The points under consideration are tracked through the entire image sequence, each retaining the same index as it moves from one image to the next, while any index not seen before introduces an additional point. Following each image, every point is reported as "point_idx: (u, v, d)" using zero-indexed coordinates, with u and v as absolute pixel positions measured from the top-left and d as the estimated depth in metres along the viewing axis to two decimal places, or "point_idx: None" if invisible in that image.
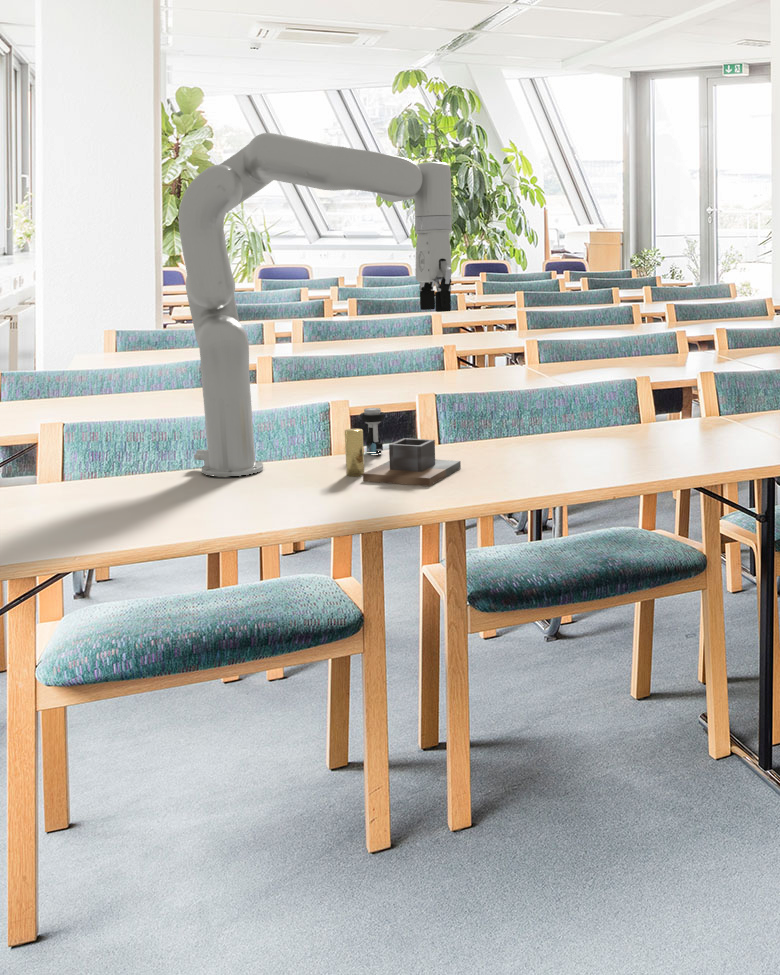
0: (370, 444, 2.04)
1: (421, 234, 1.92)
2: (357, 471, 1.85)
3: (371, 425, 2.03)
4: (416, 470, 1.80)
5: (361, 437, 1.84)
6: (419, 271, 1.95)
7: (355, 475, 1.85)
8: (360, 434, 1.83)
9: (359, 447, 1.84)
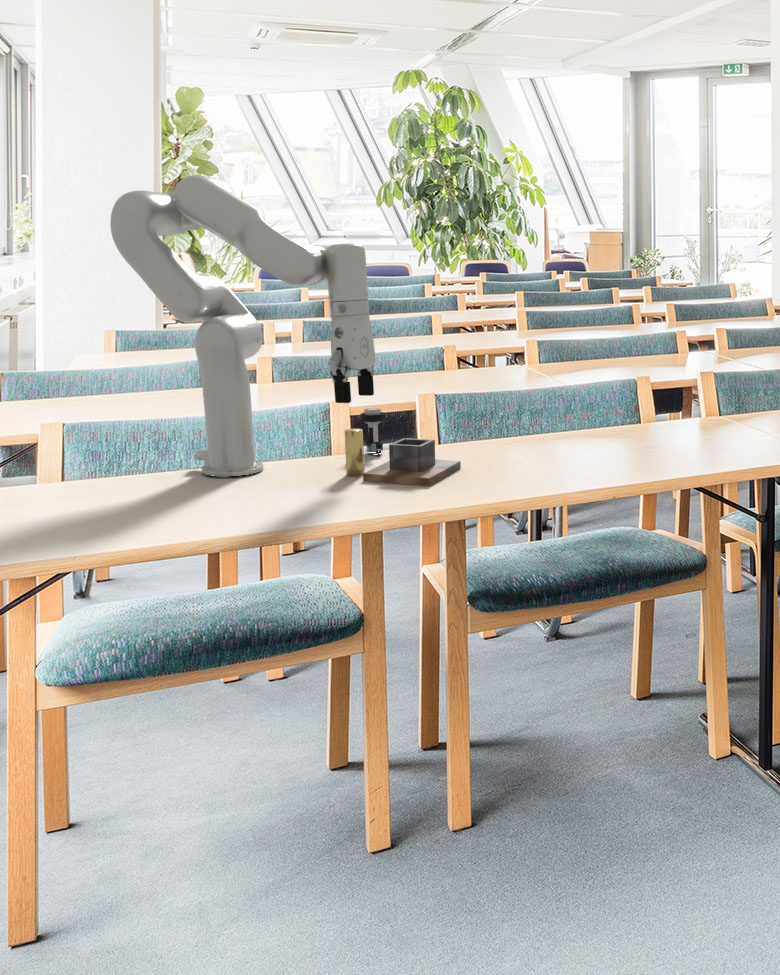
0: (370, 444, 2.04)
1: (362, 318, 1.78)
2: (357, 471, 1.85)
3: (371, 425, 2.03)
4: (416, 470, 1.80)
5: (361, 437, 1.84)
6: (362, 358, 1.78)
7: (355, 475, 1.85)
8: (360, 434, 1.83)
9: (359, 447, 1.84)
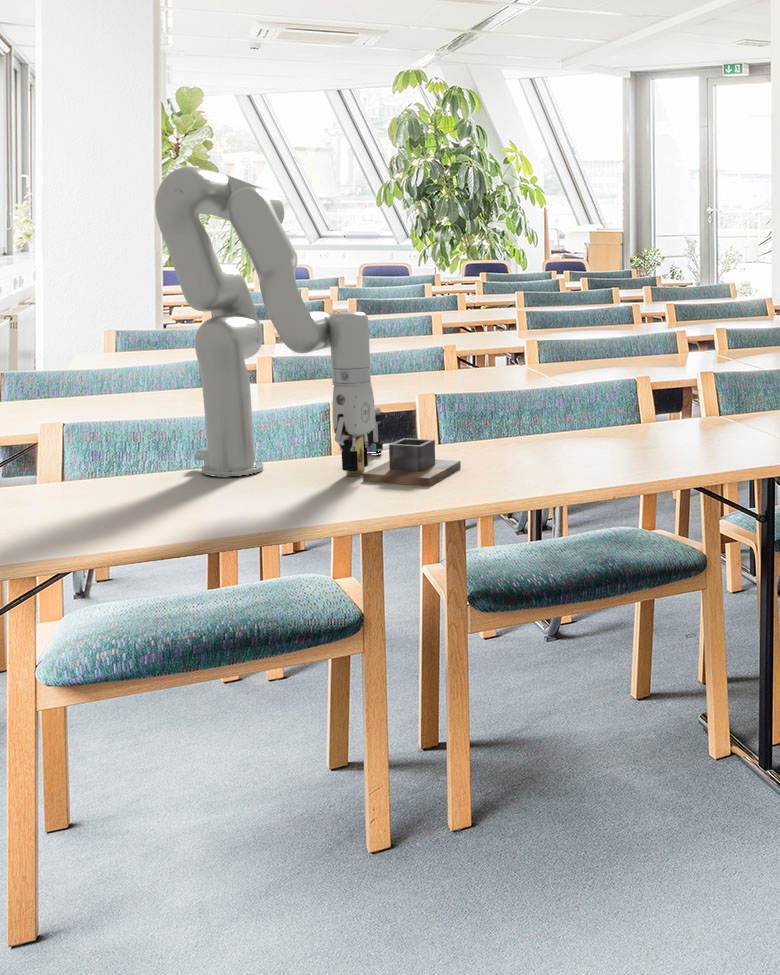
0: (370, 444, 2.04)
1: (363, 385, 1.81)
2: (357, 471, 1.85)
3: None
4: (416, 470, 1.80)
5: (361, 437, 1.84)
6: (362, 423, 1.82)
7: (355, 475, 1.85)
8: None
9: (360, 447, 1.84)
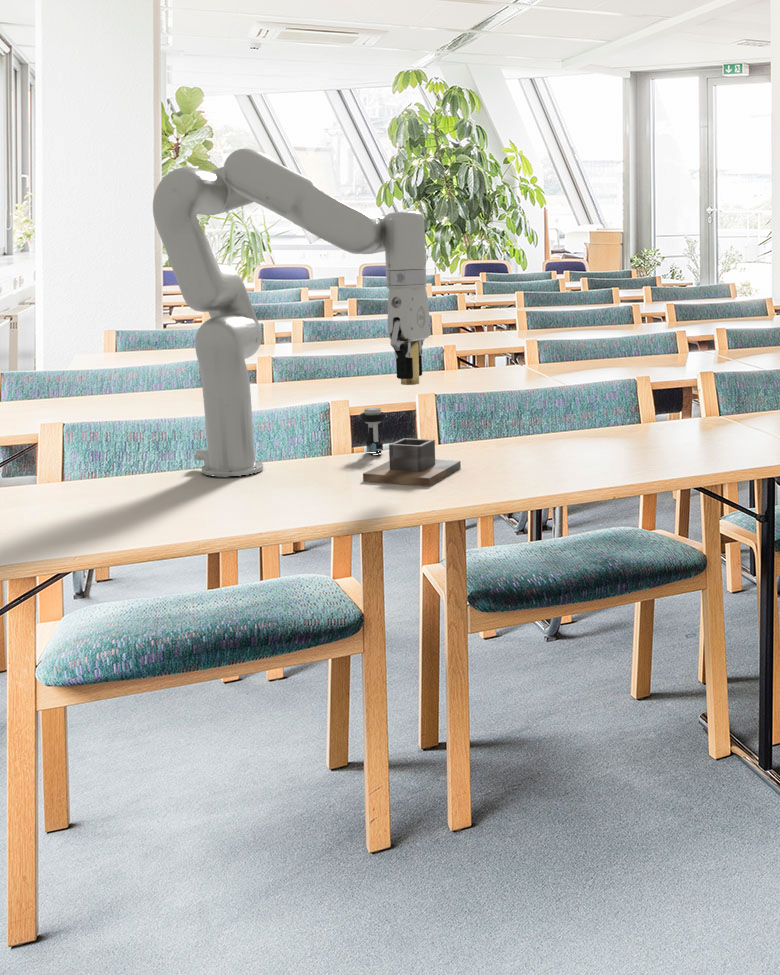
0: (370, 444, 2.04)
1: (419, 288, 1.75)
2: (412, 379, 1.79)
3: (371, 425, 2.03)
4: (416, 470, 1.80)
5: (417, 343, 1.78)
6: (418, 328, 1.76)
7: (410, 383, 1.79)
8: None
9: (415, 354, 1.78)
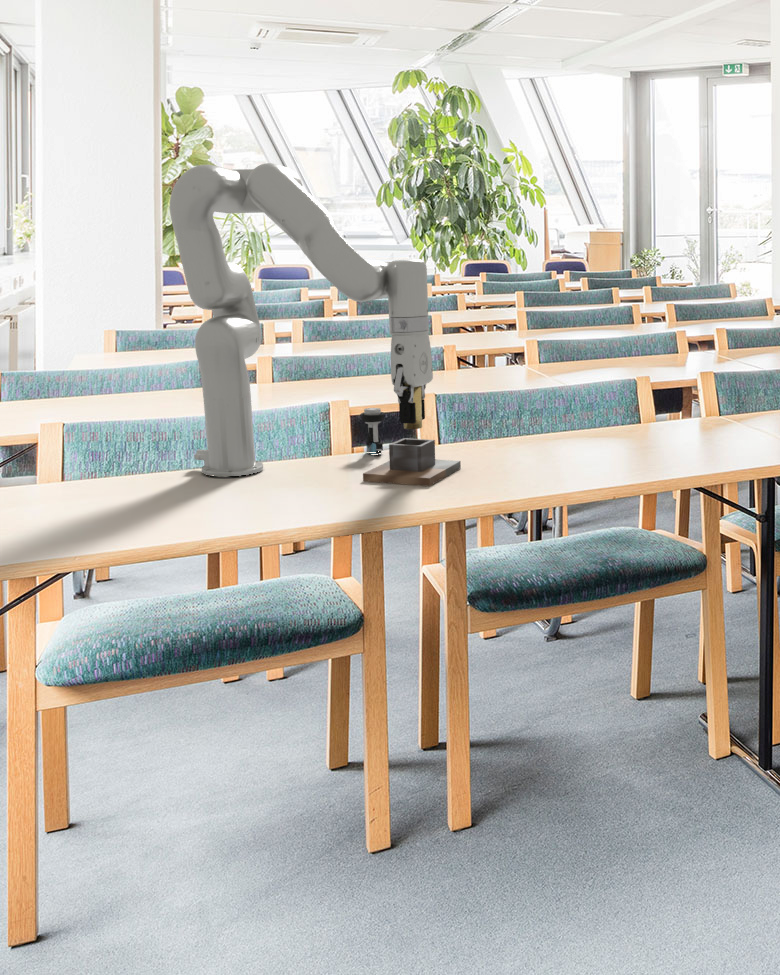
0: (370, 444, 2.04)
1: (422, 334, 1.77)
2: (415, 424, 1.81)
3: (371, 425, 2.03)
4: (416, 470, 1.80)
5: (419, 388, 1.80)
6: (421, 374, 1.78)
7: (413, 427, 1.81)
8: None
9: (418, 398, 1.80)
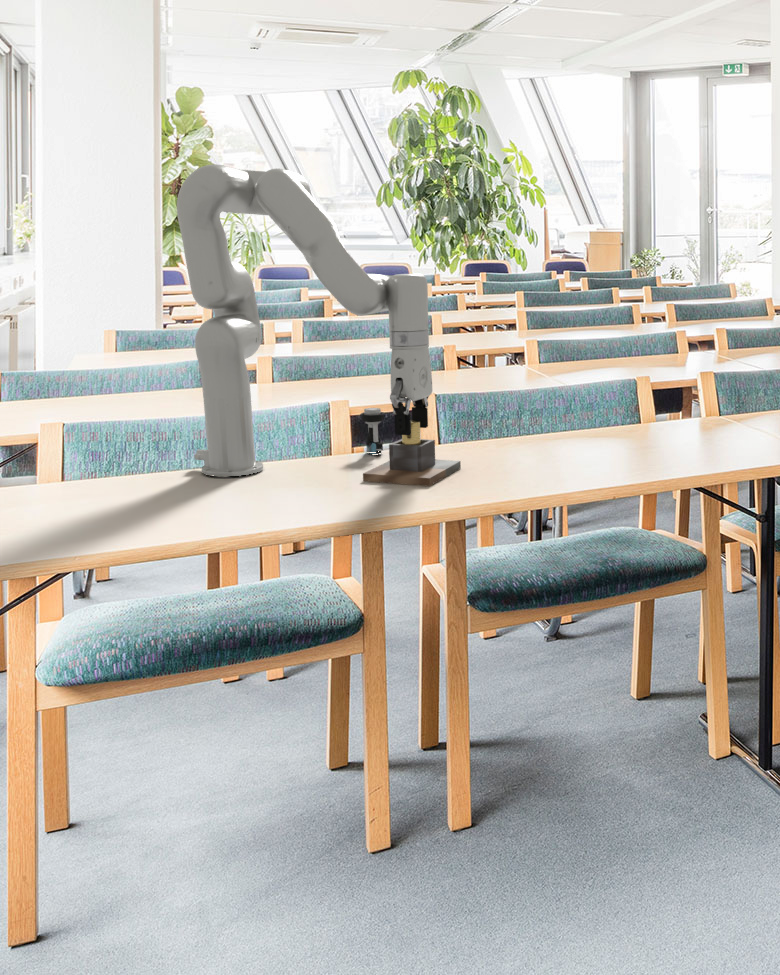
0: (370, 444, 2.04)
1: (422, 348, 1.78)
2: None
3: (371, 425, 2.03)
4: (416, 470, 1.80)
5: (418, 429, 1.82)
6: (420, 388, 1.78)
7: None
8: (418, 426, 1.81)
9: (417, 439, 1.82)
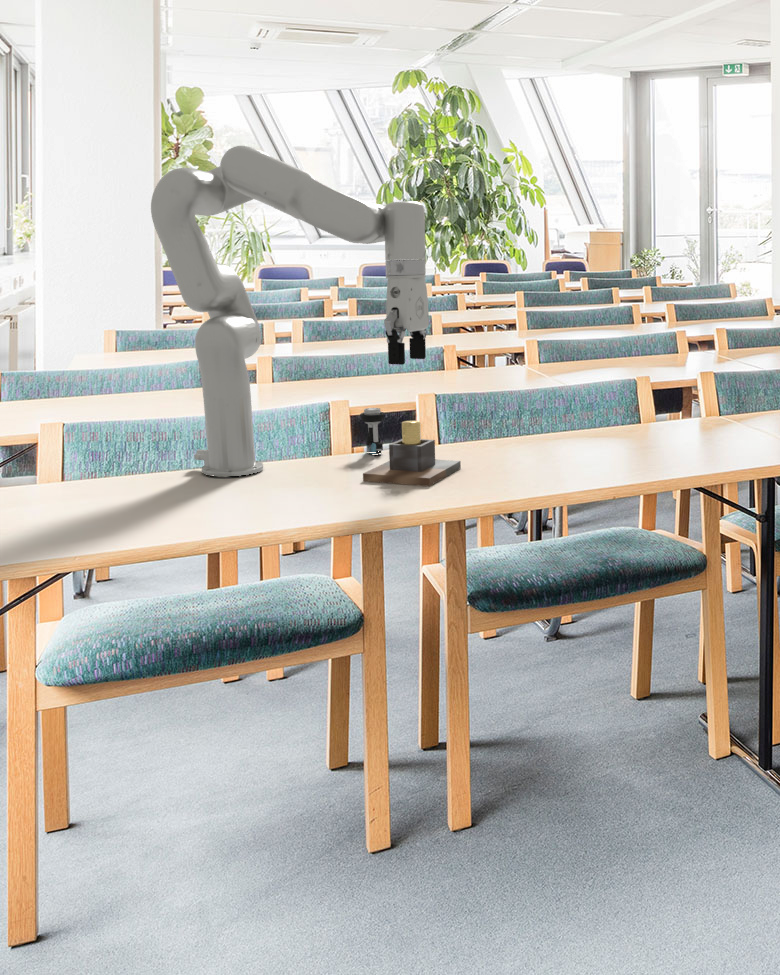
0: (370, 444, 2.04)
1: (418, 278, 1.75)
2: None
3: (371, 425, 2.03)
4: (416, 470, 1.80)
5: (419, 429, 1.82)
6: (417, 319, 1.75)
7: None
8: (418, 426, 1.81)
9: (417, 439, 1.82)
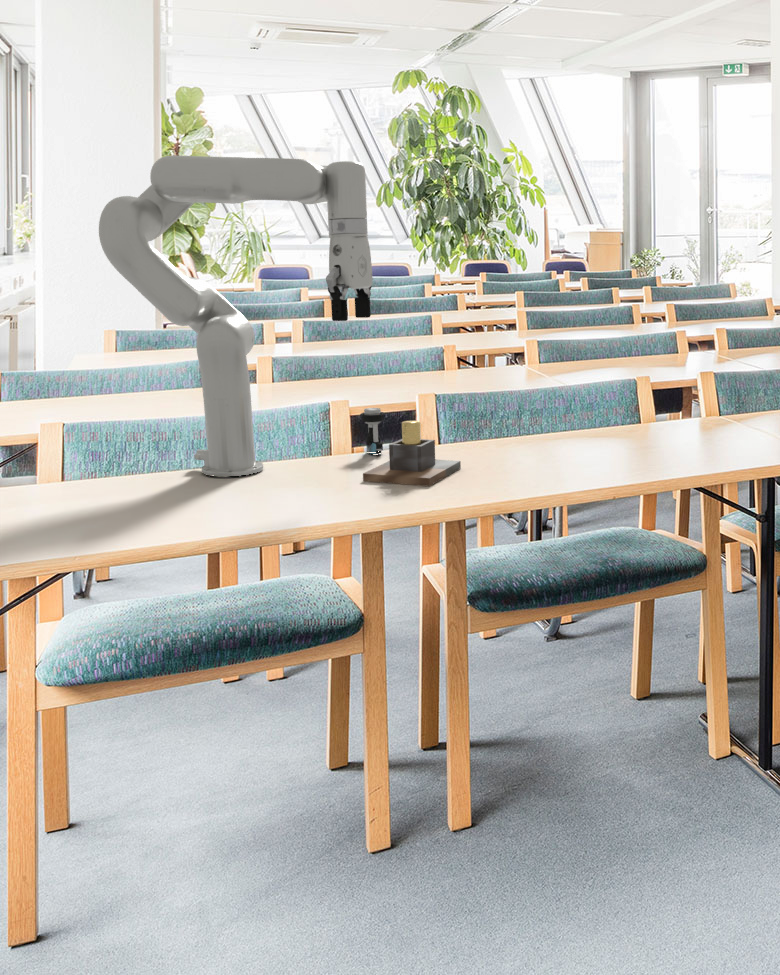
0: (370, 444, 2.04)
1: (360, 237, 1.80)
2: None
3: (371, 425, 2.03)
4: (416, 470, 1.80)
5: (419, 429, 1.82)
6: (359, 277, 1.80)
7: None
8: (418, 426, 1.81)
9: (417, 439, 1.82)
